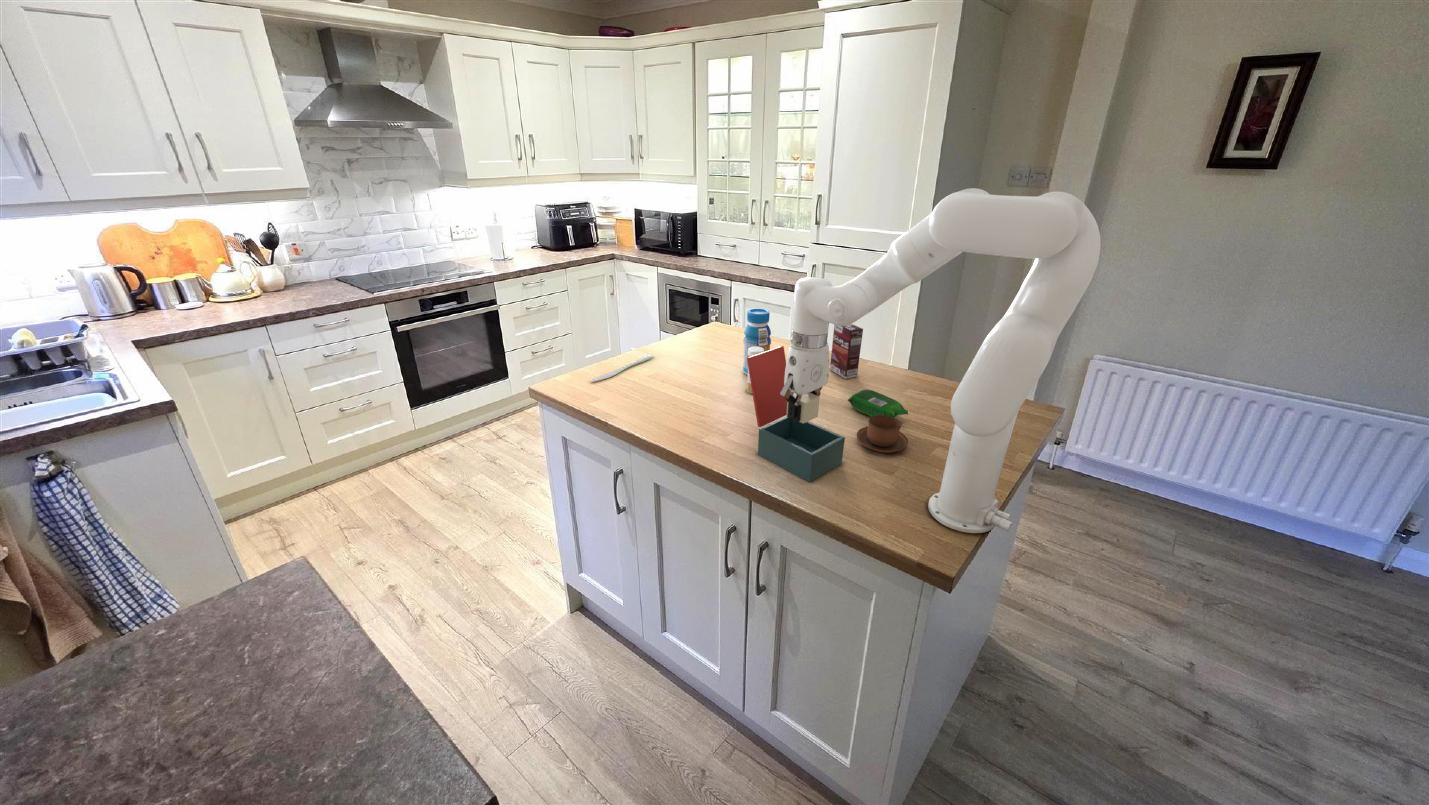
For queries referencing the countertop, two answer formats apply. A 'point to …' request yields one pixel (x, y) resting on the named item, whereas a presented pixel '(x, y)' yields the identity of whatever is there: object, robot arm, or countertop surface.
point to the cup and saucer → (882, 434)
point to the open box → (801, 447)
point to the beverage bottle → (756, 332)
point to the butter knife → (621, 369)
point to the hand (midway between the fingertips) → (802, 414)
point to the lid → (768, 384)
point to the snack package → (876, 404)
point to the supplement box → (846, 350)
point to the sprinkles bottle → (751, 352)
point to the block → (808, 407)
